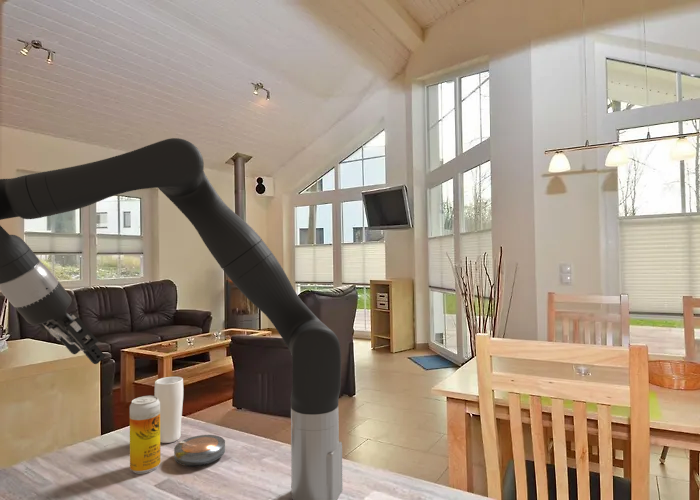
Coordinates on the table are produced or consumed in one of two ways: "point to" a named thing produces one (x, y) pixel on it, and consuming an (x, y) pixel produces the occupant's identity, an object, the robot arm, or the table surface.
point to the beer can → (145, 434)
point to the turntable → (199, 450)
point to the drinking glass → (170, 407)
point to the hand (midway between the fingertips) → (88, 355)
